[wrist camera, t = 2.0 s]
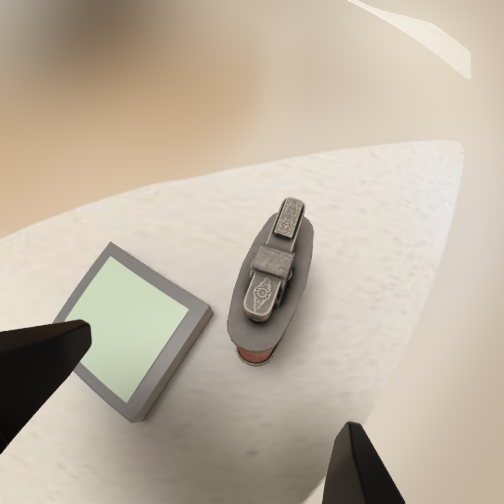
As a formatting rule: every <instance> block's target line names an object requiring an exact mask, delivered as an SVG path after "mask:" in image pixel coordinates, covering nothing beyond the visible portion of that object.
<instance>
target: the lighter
mask: <svg viewBox="0 0 504 504" xmlns="http://www.w3.org/2000/svg"><path fill="white" fill-rule="evenodd" d="M305 207H306V206H305V203H304V202H303V201H301V200H299V199H296V198H291V197H288V198H285V199H284V200H283V202H282V204H281V206H280V209H279V211H278V213H276V214H273V215H272V216H271V217H270V218H269V219H268V221H267V222H266V224H265V225H264V227H263V228H262V230H261V231H260V233H259V234H258V235H257V237H256V238H255V240H254V242H253V244H252V246H251V248H250V250H249V252H248V254H247V256H246V258H245V260H244V262H243V264H242V267H241V270H240V273H239V276H238V279H237V282H236V285H235V288H234V291H233V295H232V300H231V305H230V310H229V315H228V321H227V331H228V333H229V335H230V338H231V340H232V341H233V343H234V344H235V345H236V352H237V354H238V356H239V358H240V359H241V360H242V361H243V362H244V363H246V364H248V365H252V366H262V365H264V364H266V363H268V361H269V360H270V359H271V358H272V356H273V355H274V353H275V351H276V350H277V348H278V346H279V344H280V343H281V341H282V339H283V337H284V334H285V332H286V330H287V327H288V326H289V324H290V321H291V319H292V317H293V315H294V313H295V311H296V308H297V306H298V303H299V301H300V298H301V296H302V293H303V291H304V288H305V286H306V282H307V278H308V273H309V269H310V264H311V259H312V250H313V236H314V231H313V226H312V224H311V223H310V221H309V220H308V219H307V218H305V217H304V213H305Z"/></svg>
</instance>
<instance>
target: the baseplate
mask: <svg viewBox="0 0 504 504" xmlns="http://www.w3.org/2000/svg"><path fill="white" fill-rule="evenodd" d="M212 315H213V311H212V309H211V307H210V305H208V304H207V303H205V302H203V301H202V300H200V299H198V298H197V297H195V296H193V295H192V294H190V293H188V292H187V291H185V290H184V289H182V288H180V287H179V286H177V285H176V284H174V283H172V282H171V281H169V280H168V279H166V278H165V277H163V276H161V275H160V274H158V273H157V272H155V271H154V270H152V269H151V268H149V267H148V266H146V265H145V264H143V263H142V262H140V261H139V260H137V259H136V258H134V257H133V256H131V255H130V254H128V253H127V252H125V251H124V250H122V249H121V248H119V247H118V246H116V245H115V244H113V243H112V242H110V243H109V244H108V246H107V247H106V248H105V249H104V251H103V252H102V253H101V255H100V256H99V257H98V258H97V260H96V261H95V262H94V264H93V265H92V266H91V268H90V269H89V271H88V272H87V273H86V275H85V276H84V277H83V279H82V280H81V282H80V283H79V284H78V286H77V287H76V289H75V290H74V292H73V293H72V294H71V296H70V297H69V299H68V300H67V302H66V303H65V305H64V306H63V308H62V309H61V311H60V312H59V314H58V315H57V317H56V318H55V320H54V322H53V323H52V324H54V323H60V322H66V321H71V320H77V319H82V320H84V321H86V322H88V323H89V324H90V326H91V334H92V345H91V347H90V349H89V350H88V351H87V353H86V354H85V355H84V357H83V358H82V359H81V361H80V362H79V363H78V365H77V366H76V367H75V369H74V370H73V371H74V372H75V373H76V374H77V375H78V376H79V377H80V378H81V379H82V380H83V381H84V382H85V383H86V384H87V385H88V386H89V387H90V388H91V389H92V390H93V391H95V392H96V393H97V394H98V395H99V396H100V397H101V398H102V399H103V400H105V401H106V402H107V403H108V404H109V405H110V406H111V407H113V408H114V409H115V410H116V411H117V412H119V413H120V414H121V415H122V416H123V417H125V418H126V419H127V420H128V421H130V422H131V423H136V422H141V421H143V419H144V418H145V416H146V415H147V413H148V412H149V410H150V409H151V407H152V406H153V404H154V403H155V401H156V400H157V398H158V397H159V395H160V394H161V392H162V391H163V389H164V388H165V386H166V384H167V383H168V381H169V380H170V378H171V377H172V375H173V374H174V372H175V371H176V369H177V368H178V366H179V365H180V363H181V362H182V360H183V359H184V357H185V356H186V354H187V353H188V351H189V350H190V348H191V346H192V345H193V343H194V342H195V340H196V339H197V337H198V336H199V334H200V333H201V331H202V330H203V328H204V327H205V325H206V324H207V322H208V321H209V319H210V318H211V316H212Z"/></svg>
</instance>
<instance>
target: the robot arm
mask: <svg viewBox="0 0 504 504" xmlns="http://www.w3.org/2000/svg"><path fill="white" fill-rule="evenodd" d="M91 345H92V334H91V326H90V324H89V323H88V322H86V321H84V320H82V319H77V320H71V321H66V322H60V323H54V324H48V325H41V326H35V327H29V328H22V329H16V330H9V331H2V332H0V455H1V453H2V452H3V451H4V450H5V448H6V447H7V446H8V445H9V443H10V442H11V441H12V440H13V439H14V437H15V436H16V435H17V434H18V433H19V432H20V430H21V429H22V428H23V427H24V426H25V425H26V423H27V422H28V421H29V420H30V419H31V418H32V417H33V415H34V414H35V413H36V412H37V411H38V410H39V409H40V408H41V406H42V405H43V404H44V403H45V402H46V401H47V400H48V399H49V397H50V396H51V395H52V394H53V393H54V392H55V391H56V390H57V389H58V388H59V386H60V385H61V384H62V383H63V382H64V381H65V380H66V379H67V378H68V376H69V375H70V374H71V373H72V371H73V370H74V369H75V367H76V366H77V365H78V363H79V362H80V361H81V359H82V358H83V357H84V355H85V354H86V353H87V351H88V350H89V349H90V347H91ZM322 504H405V501H404V499H403V497H402V496H401V494H400V492H399V490H398V489H397V487H396V485H395V484H394V482H393V480H392V478H391V476H390V474H389V473H388V471H387V469H386V467H385V466H384V464H383V462H382V460H381V459H380V457H379V455H378V454H377V452H376V450H375V448H374V446H373V445H372V443H371V441H370V439H369V438H368V436H367V435H366V433H365V431H364V429H363V427H362V426H361V424H359V423H356V422H351V421H349V422H347V423H346V424H345V425H344V427H343V428H342V429H341V431H340V432H339V434H338V435H337V437H336V439H335V442H334V446H333V450H332V455H331V459H330V463H329V468H328V472H327V476H326V480H325V486H324V493H323V501H322Z"/></svg>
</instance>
